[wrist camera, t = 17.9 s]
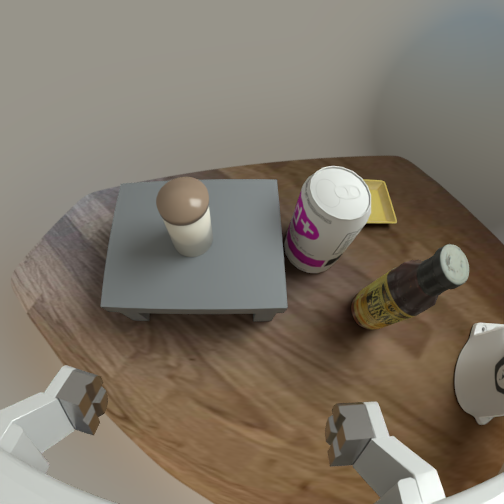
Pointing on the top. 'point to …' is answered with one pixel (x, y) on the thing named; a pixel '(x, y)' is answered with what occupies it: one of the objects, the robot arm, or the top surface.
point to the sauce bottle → (409, 288)
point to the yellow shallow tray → (380, 203)
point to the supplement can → (327, 218)
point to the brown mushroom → (186, 215)
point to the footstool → (201, 267)
